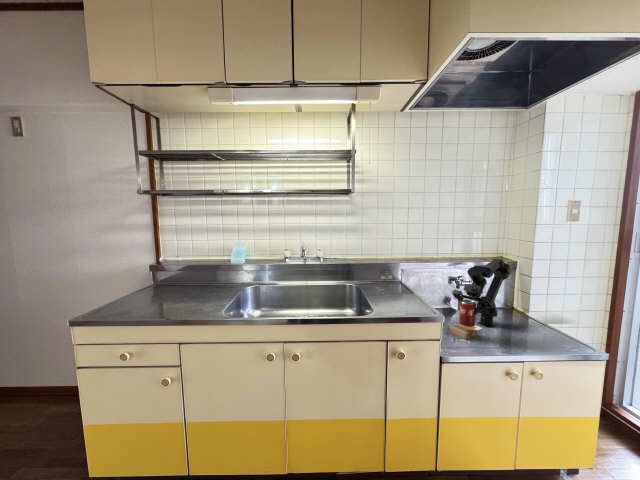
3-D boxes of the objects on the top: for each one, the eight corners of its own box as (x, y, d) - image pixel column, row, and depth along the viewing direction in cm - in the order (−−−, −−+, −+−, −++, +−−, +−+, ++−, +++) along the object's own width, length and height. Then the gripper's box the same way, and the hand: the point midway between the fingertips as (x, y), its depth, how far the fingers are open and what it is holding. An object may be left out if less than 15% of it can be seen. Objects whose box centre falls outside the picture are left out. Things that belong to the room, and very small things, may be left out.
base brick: (461, 328, 147) (461, 323, 147) (477, 335, 139) (477, 330, 139) (449, 332, 143) (450, 326, 143) (465, 339, 135) (465, 334, 135)
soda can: (476, 323, 138) (477, 300, 137) (474, 329, 132) (475, 305, 131) (460, 320, 143) (460, 298, 141) (457, 325, 137) (458, 302, 135)
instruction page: (470, 323, 153) (470, 323, 153) (482, 328, 147) (482, 328, 147) (458, 327, 149) (458, 326, 149) (470, 332, 143) (470, 332, 143)
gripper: (454, 274, 144) (442, 299, 139) (493, 282, 129) (481, 310, 124) (461, 286, 150) (450, 310, 145) (498, 294, 135) (488, 321, 130)
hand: (466, 312), depth 136 cm, fingers closed on soda can, 7 cm apart
